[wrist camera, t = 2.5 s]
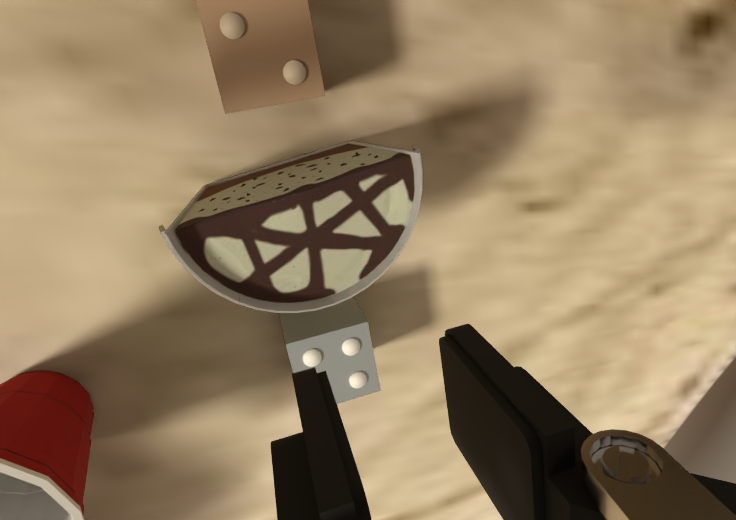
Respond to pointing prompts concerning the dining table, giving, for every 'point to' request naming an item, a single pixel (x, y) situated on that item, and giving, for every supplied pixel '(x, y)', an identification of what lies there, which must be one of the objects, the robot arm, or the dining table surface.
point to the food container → (301, 227)
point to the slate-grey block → (333, 347)
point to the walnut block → (261, 51)
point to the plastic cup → (43, 447)
